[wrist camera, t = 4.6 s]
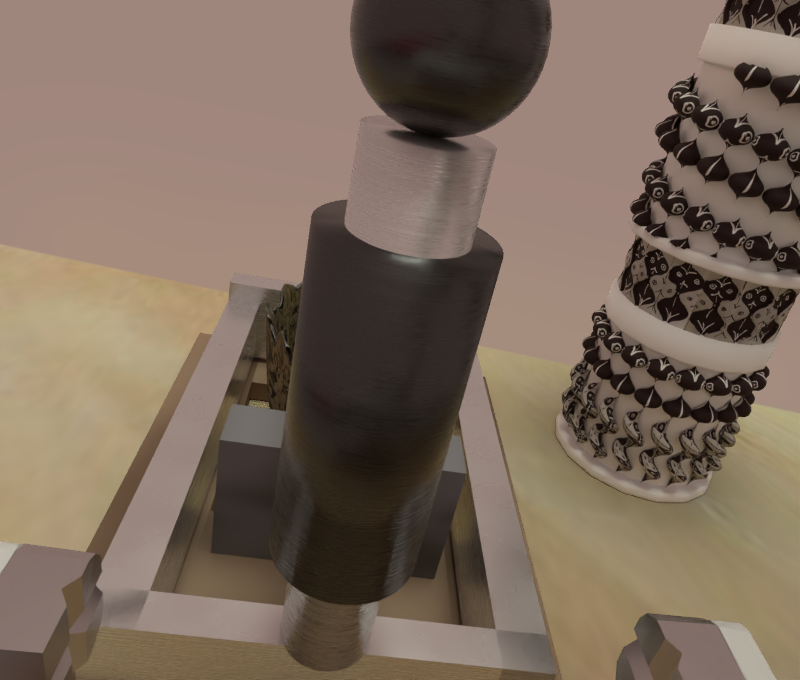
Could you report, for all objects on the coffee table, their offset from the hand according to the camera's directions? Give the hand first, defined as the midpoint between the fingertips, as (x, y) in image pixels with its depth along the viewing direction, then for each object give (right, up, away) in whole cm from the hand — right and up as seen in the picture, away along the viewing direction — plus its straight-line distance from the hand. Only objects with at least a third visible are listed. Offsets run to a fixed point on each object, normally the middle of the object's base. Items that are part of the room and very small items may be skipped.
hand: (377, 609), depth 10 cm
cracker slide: (-2, -2, +17) cm, 17 cm away
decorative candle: (+13, -2, +26) cm, 29 cm away
